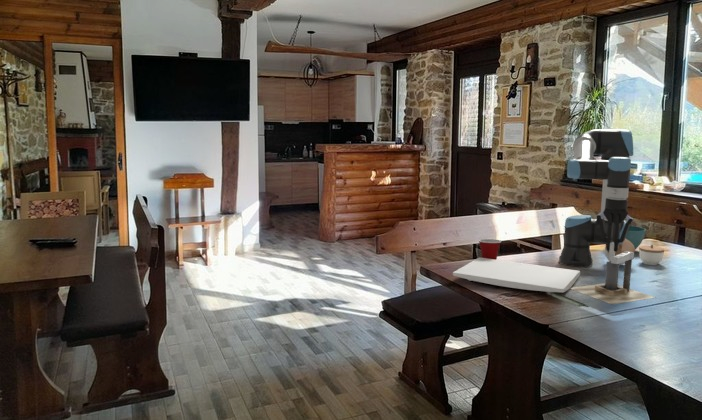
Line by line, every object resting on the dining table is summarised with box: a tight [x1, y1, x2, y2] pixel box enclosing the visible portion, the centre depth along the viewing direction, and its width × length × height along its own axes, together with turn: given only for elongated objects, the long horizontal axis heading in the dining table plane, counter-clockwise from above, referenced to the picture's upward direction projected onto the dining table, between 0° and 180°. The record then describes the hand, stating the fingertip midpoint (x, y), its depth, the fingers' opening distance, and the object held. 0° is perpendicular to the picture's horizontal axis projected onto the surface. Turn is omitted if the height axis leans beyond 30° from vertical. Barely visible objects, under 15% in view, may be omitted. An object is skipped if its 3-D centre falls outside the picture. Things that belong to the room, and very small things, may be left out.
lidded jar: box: [638, 244, 665, 266], centre depth 268 cm, size 11×11×9 cm
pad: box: [551, 292, 587, 307], centre depth 214 cm, size 14×9×1 cm, turn 22°
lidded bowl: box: [604, 239, 636, 266], centre depth 265 cm, size 13×13×11 cm
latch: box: [611, 251, 635, 264], centre depth 215 cm, size 4×14×2 cm, turn 131°
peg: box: [604, 260, 620, 290], centre depth 217 cm, size 4×4×12 cm
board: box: [452, 257, 581, 296], centre depth 238 cm, size 45×32×5 cm
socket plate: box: [568, 259, 656, 305], centre depth 217 cm, size 22×22×14 cm
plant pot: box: [625, 225, 647, 250], centre depth 296 cm, size 18×18×12 cm
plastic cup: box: [478, 238, 502, 260], centre depth 267 cm, size 11×11×12 cm
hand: (611, 259), depth 214 cm, fingers closed
